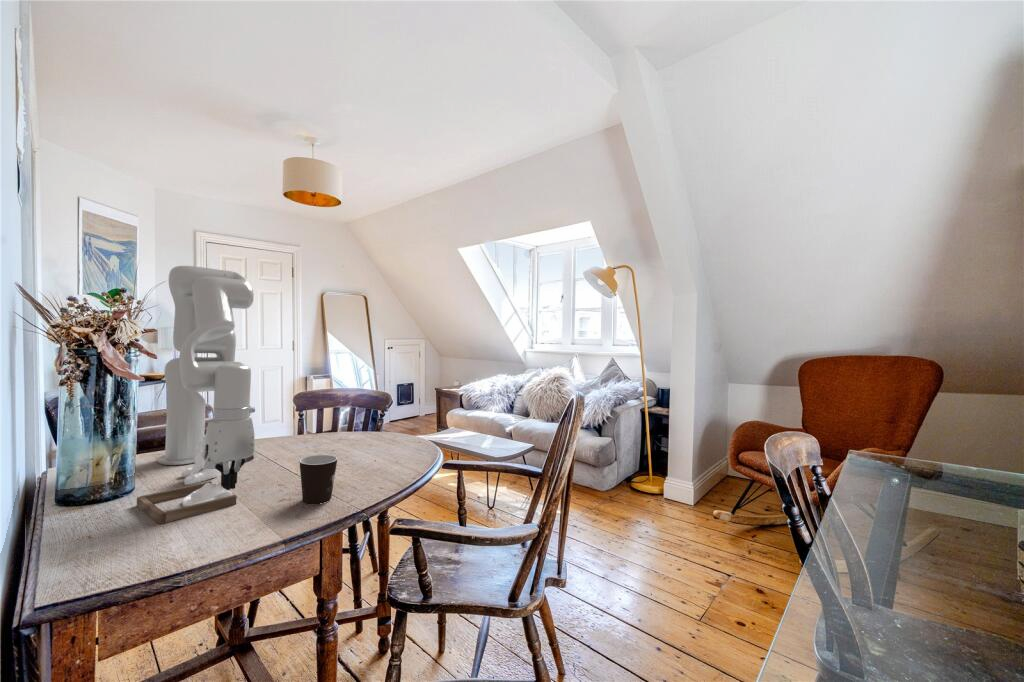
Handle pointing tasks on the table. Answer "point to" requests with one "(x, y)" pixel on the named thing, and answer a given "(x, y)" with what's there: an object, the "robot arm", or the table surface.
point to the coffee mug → (317, 478)
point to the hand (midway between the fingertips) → (228, 488)
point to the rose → (205, 494)
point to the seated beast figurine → (198, 468)
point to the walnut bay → (164, 517)
